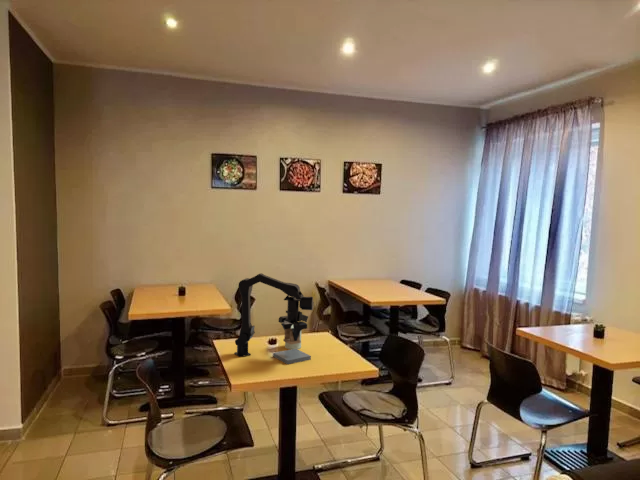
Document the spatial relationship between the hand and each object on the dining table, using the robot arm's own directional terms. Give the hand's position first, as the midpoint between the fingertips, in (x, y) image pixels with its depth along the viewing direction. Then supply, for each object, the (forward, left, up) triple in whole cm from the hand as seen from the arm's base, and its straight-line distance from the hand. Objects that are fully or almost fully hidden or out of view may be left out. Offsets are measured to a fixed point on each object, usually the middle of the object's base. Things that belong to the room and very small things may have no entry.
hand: (292, 339), depth 233 cm
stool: (0, 0, -2) cm, 2 cm away
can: (-16, +11, -10) cm, 22 cm away
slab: (0, 0, -10) cm, 10 cm away
